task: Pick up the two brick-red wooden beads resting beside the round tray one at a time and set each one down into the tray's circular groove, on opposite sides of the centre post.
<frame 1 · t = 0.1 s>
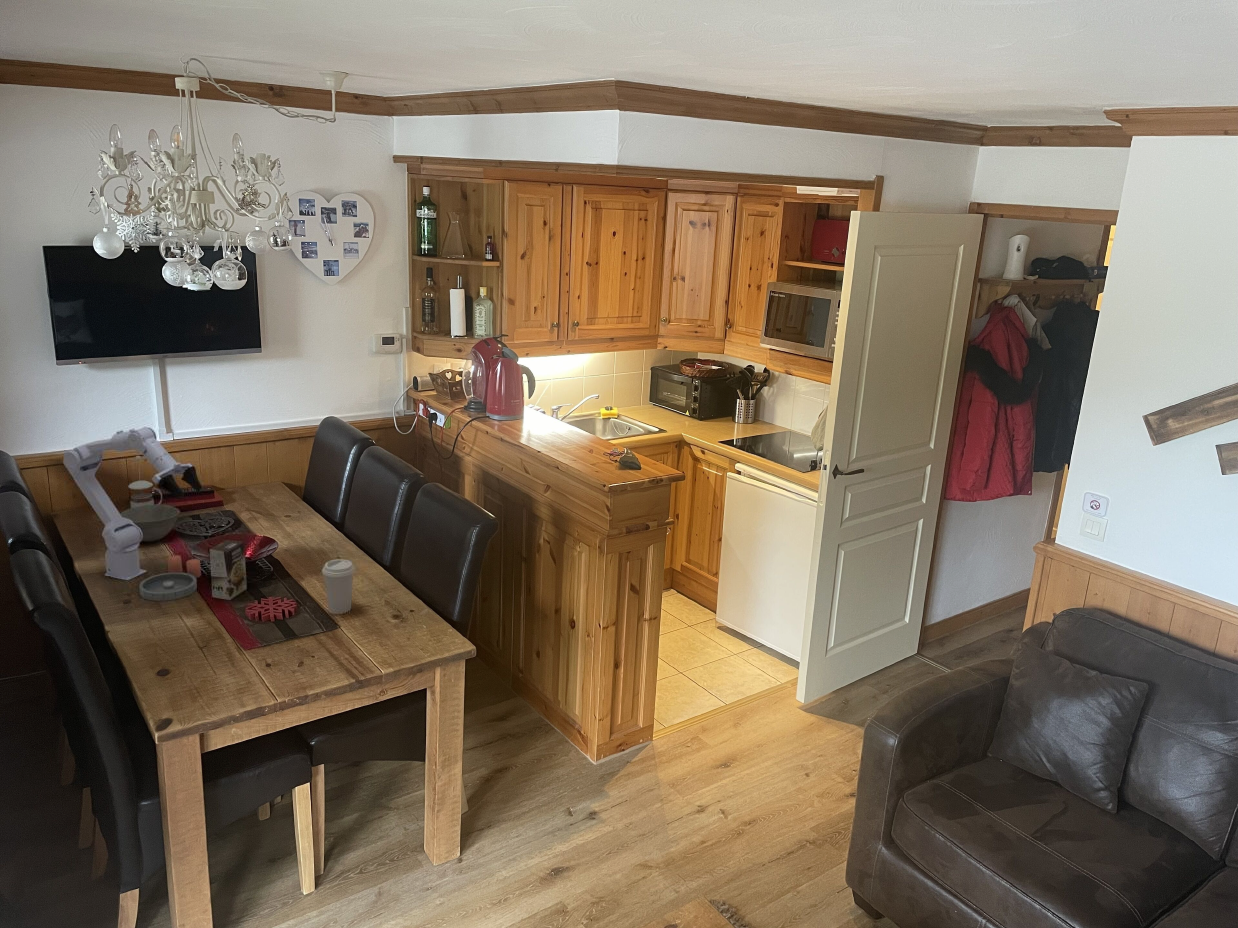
hand: (191, 493, 279), 32 cm above the table, tool tilted 50°, fingers open, 7 cm apart
bead a: (175, 571, 299), on the table
coffee cup: (339, 610, 280), on the table
coffee box: (230, 593, 286), on the table
bowl: (152, 539, 324), on the table
bead b: (194, 575, 297), on the table
round tray: (168, 590, 286), on the table
french press: (146, 520, 342), on the table
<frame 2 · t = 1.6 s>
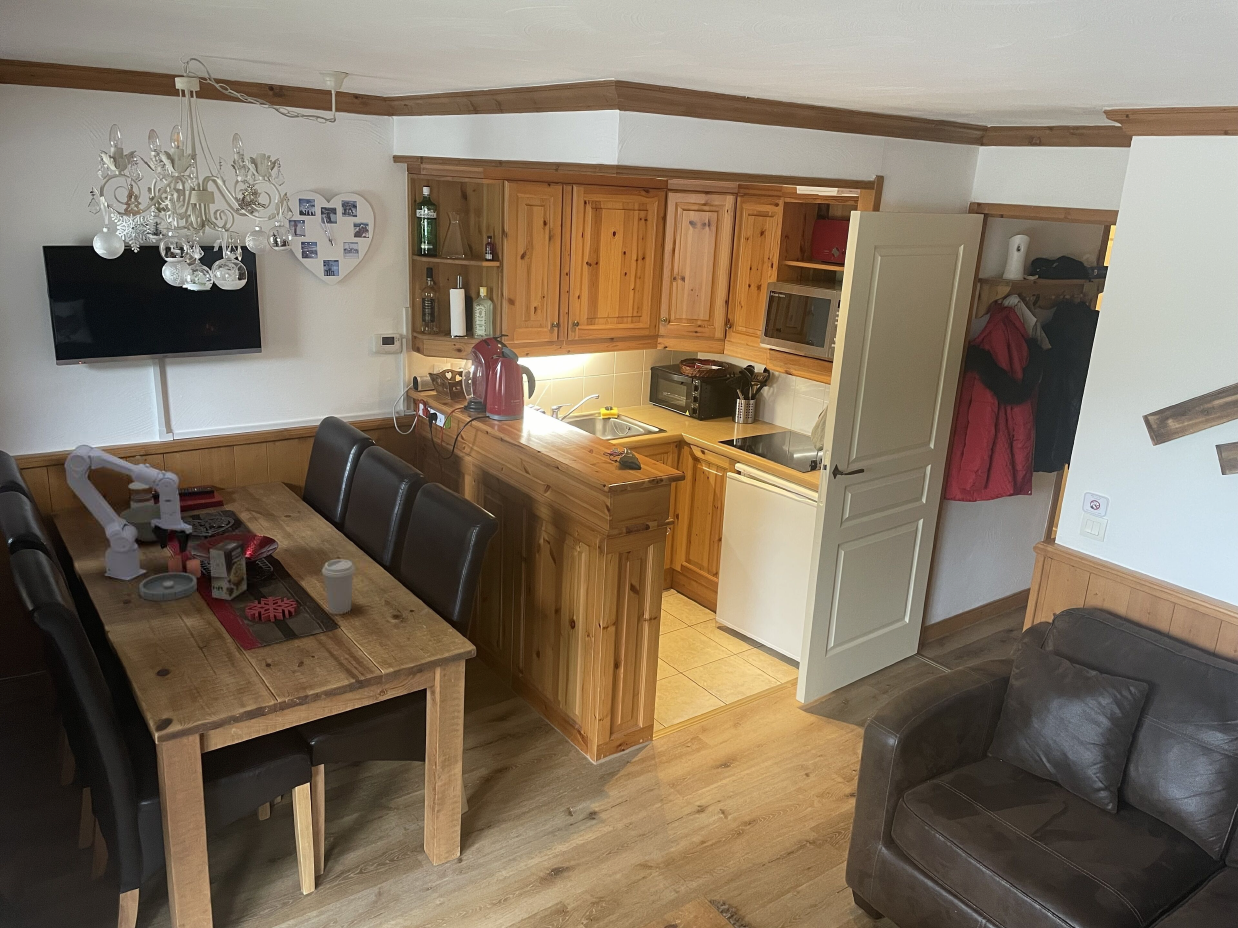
hand: (173, 549, 297), 8 cm above the table, tool pointing down, fingers open, 7 cm apart
nothing on the table moved.
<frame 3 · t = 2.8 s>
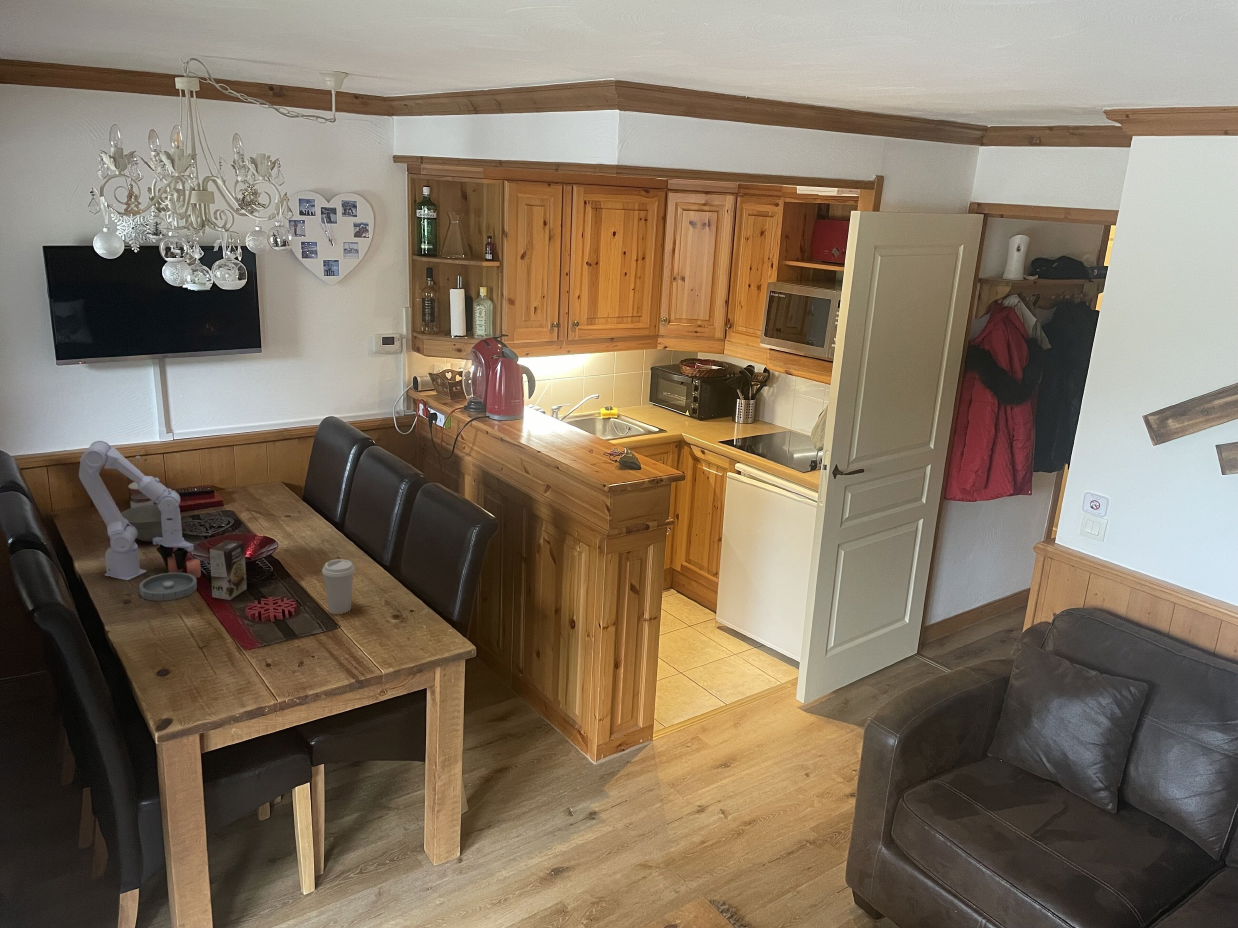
hand: (175, 567, 299), 1 cm above the table, tool pointing down, fingers closed on bead a, 4 cm apart
bead a: (175, 571, 299), on the table, touching gripper
everything else where it was.
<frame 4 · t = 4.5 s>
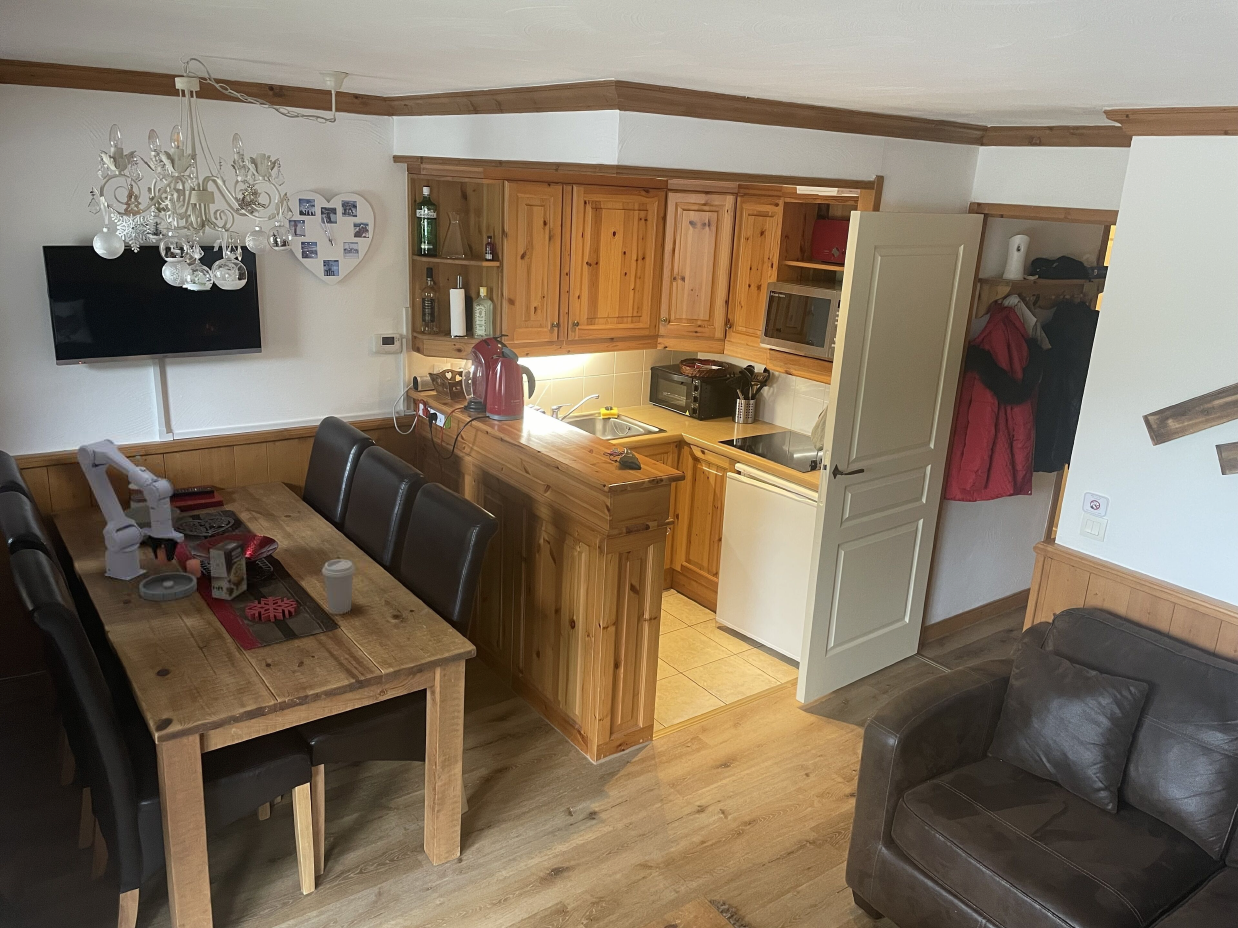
hand: (164, 559, 288), 8 cm above the table, tool pointing down, fingers closed on bead a, 4 cm apart
bead a: (165, 563, 288), point 7 cm above the table, touching gripper
everything else where it was.
when the fingers open (4 cm above the table, at t = 6.3 s): bead a drops 1 cm, resting on round tray.
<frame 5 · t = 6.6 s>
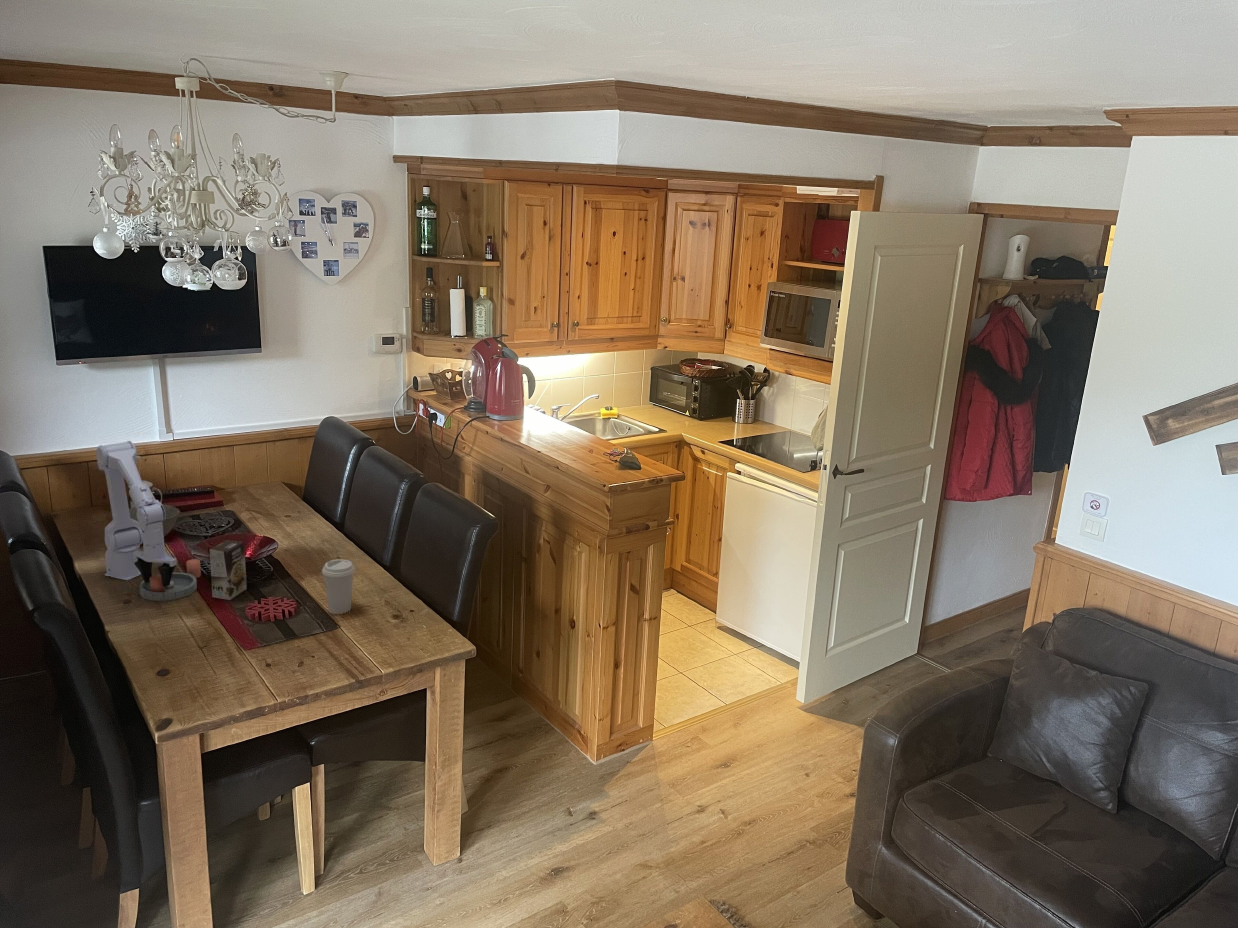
hand: (157, 583, 281), 4 cm above the table, tool pointing down, fingers open, 6 cm apart
bead a: (158, 592, 282), point 1 cm above the table, touching round tray
everything else where it was.
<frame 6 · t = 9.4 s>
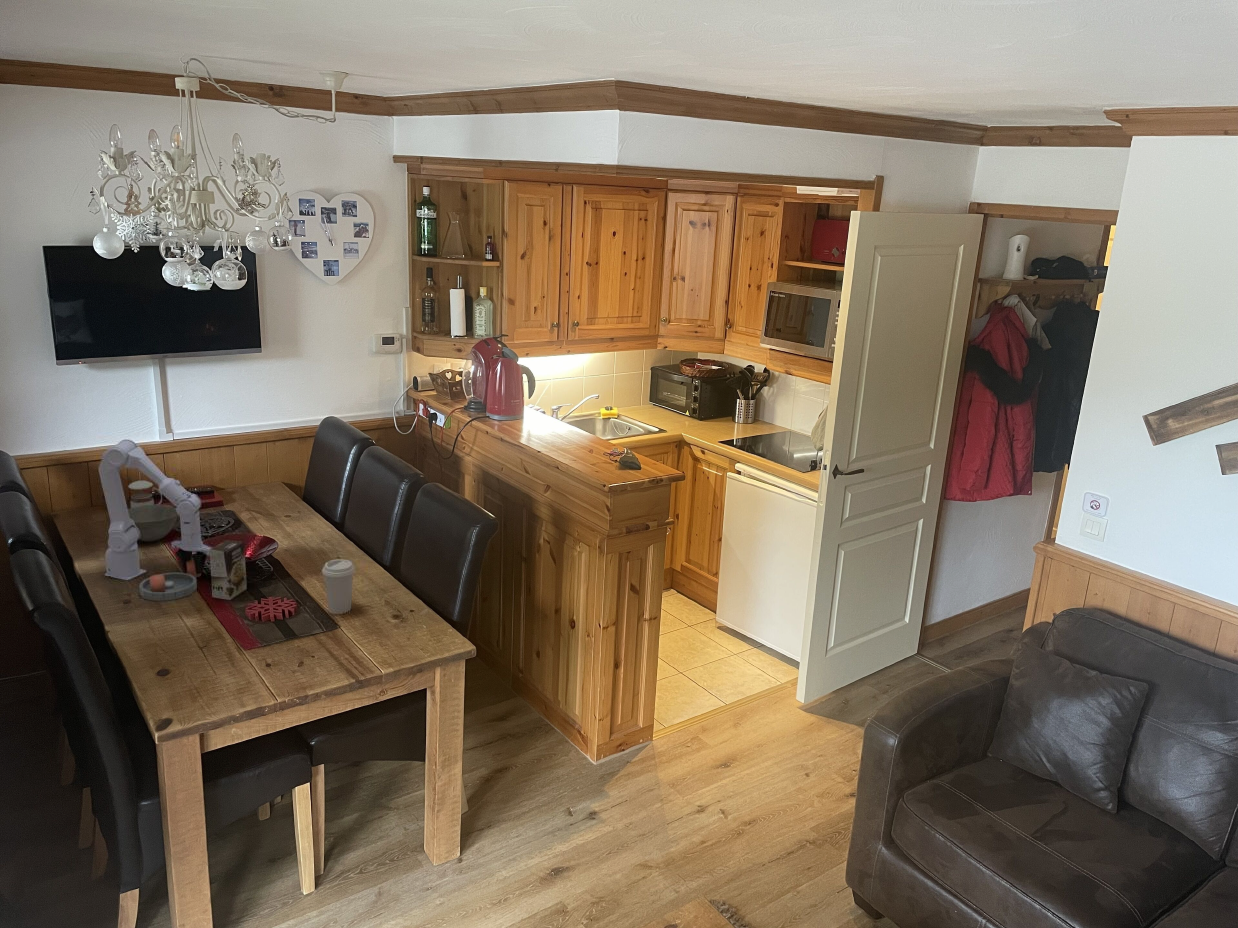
hand: (193, 571, 297), 1 cm above the table, tool pointing down, fingers closed on bead b, 4 cm apart
bead b: (194, 575, 297), on the table, touching gripper
everything else where it was.
when the fingers open (4 cm above the table, at t = 12.4 s): bead b drops 1 cm, resting on round tray.
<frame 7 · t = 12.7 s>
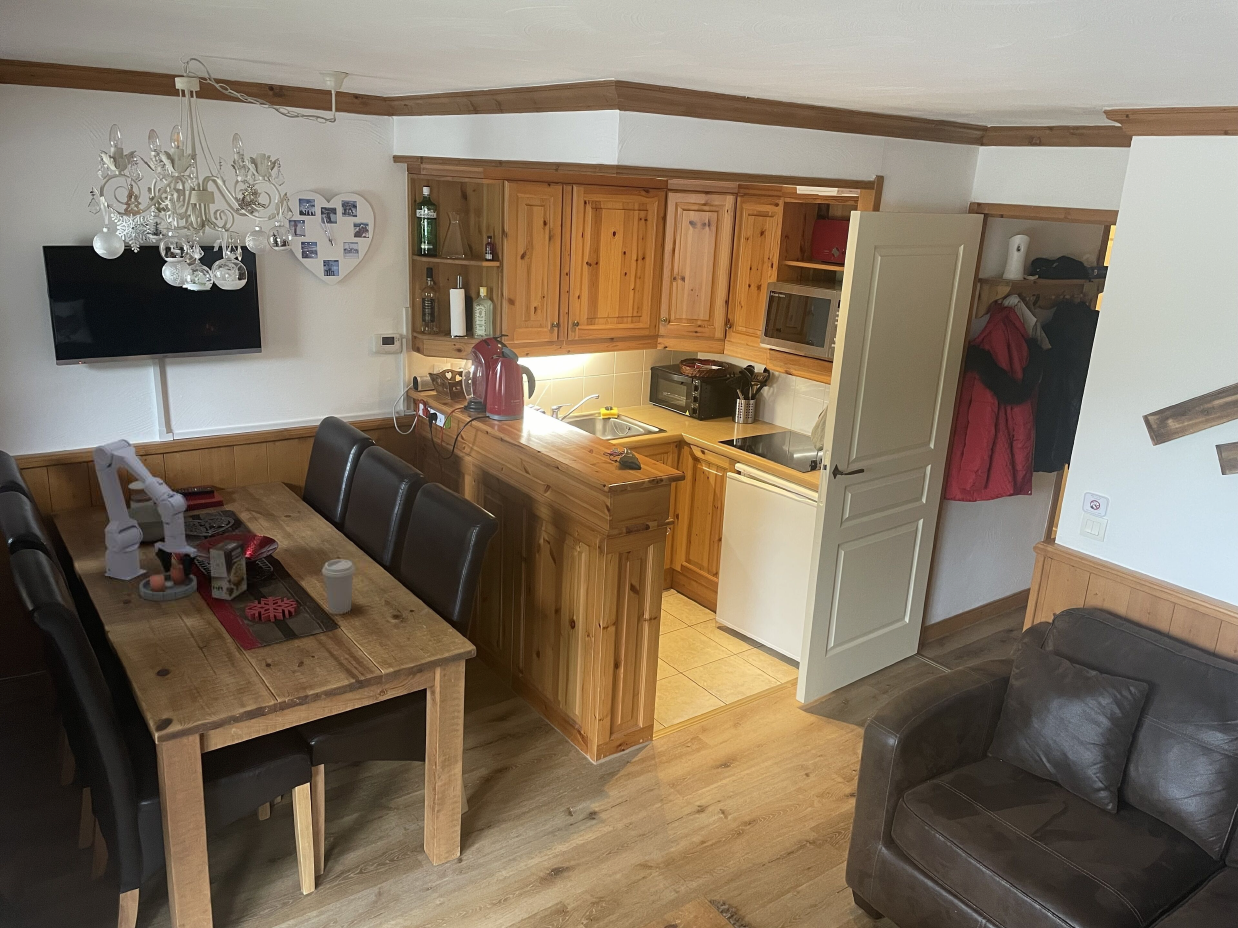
hand: (178, 573, 289), 4 cm above the table, tool pointing down, fingers open, 7 cm apart
bead b: (178, 582, 289), point 1 cm above the table, touching round tray
everything else where it was.
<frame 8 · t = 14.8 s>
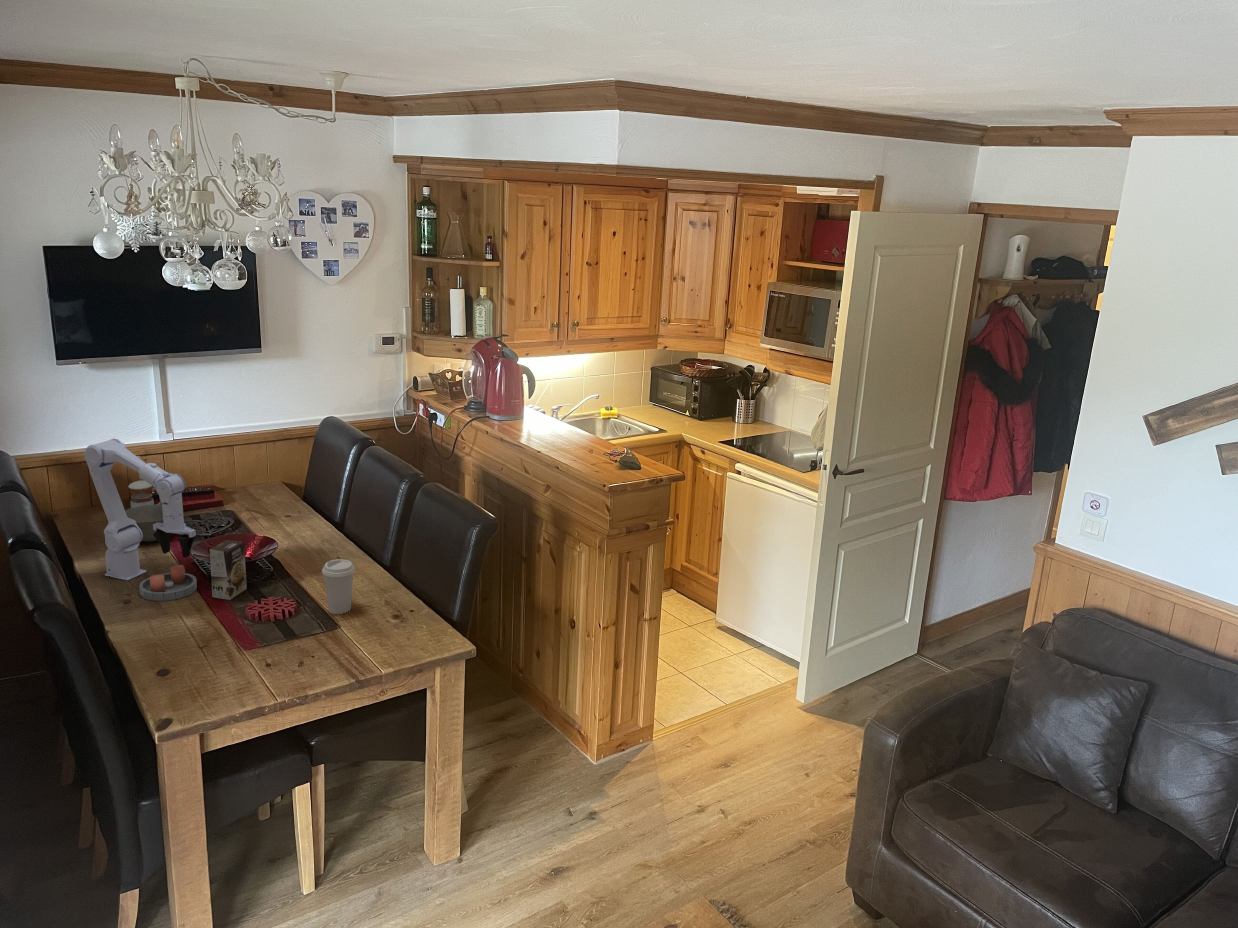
hand: (176, 554, 287), 10 cm above the table, tool pointing down, fingers open, 7 cm apart
nothing on the table moved.
at the end: bead a 0.4 cm from the target spot on the round tray, point 1.0 cm above the round tray's base; bead b 0.2 cm from the target spot on the round tray, point 1.0 cm above the round tray's base; the gripper is holding nothing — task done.
